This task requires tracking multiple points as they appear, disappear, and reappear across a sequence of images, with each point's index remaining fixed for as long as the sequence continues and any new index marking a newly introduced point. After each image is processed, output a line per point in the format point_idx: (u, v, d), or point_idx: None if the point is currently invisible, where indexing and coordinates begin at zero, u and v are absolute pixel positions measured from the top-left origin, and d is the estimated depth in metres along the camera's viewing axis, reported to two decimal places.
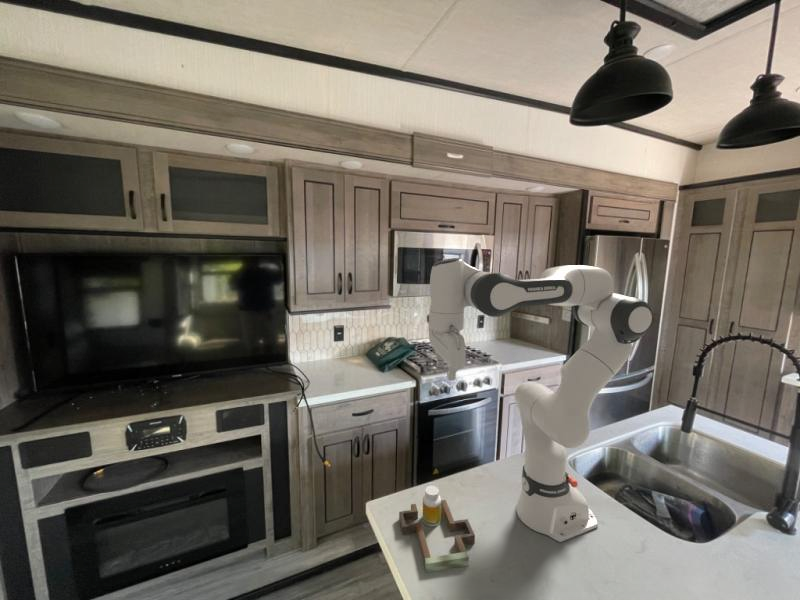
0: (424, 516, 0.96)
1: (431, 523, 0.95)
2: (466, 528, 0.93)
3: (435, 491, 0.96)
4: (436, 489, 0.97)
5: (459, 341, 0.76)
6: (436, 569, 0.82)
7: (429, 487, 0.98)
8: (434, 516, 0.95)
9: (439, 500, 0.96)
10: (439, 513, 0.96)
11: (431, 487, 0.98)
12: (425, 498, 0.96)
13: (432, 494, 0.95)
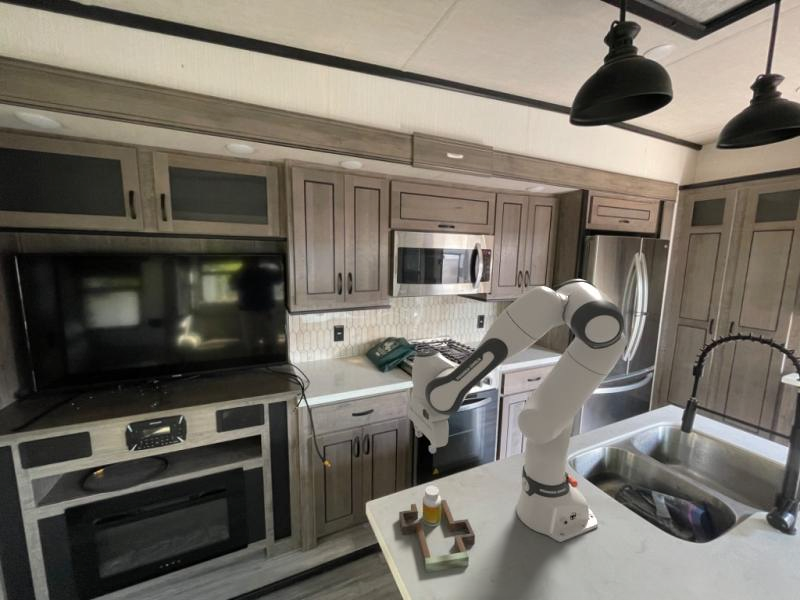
0: (424, 516, 0.96)
1: (431, 523, 0.95)
2: (466, 528, 0.93)
3: (435, 491, 0.96)
4: (436, 489, 0.97)
5: None
6: (436, 569, 0.82)
7: (429, 487, 0.98)
8: (434, 516, 0.95)
9: (439, 500, 0.96)
10: (439, 513, 0.96)
11: (431, 487, 0.98)
12: (425, 498, 0.96)
13: (432, 494, 0.95)
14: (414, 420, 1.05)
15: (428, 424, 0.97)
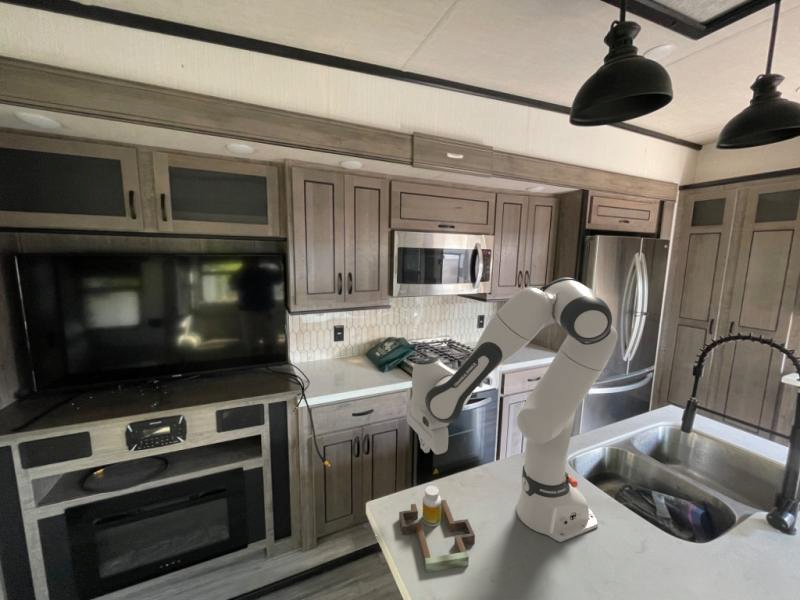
0: (424, 516, 0.96)
1: (431, 523, 0.95)
2: (466, 528, 0.93)
3: (435, 491, 0.96)
4: (436, 489, 0.97)
5: None
6: (436, 569, 0.82)
7: (429, 487, 0.98)
8: (434, 516, 0.95)
9: (439, 500, 0.96)
10: (439, 513, 0.96)
11: (431, 487, 0.98)
12: (425, 498, 0.96)
13: (432, 494, 0.95)
14: (414, 426, 1.05)
15: (428, 431, 0.97)
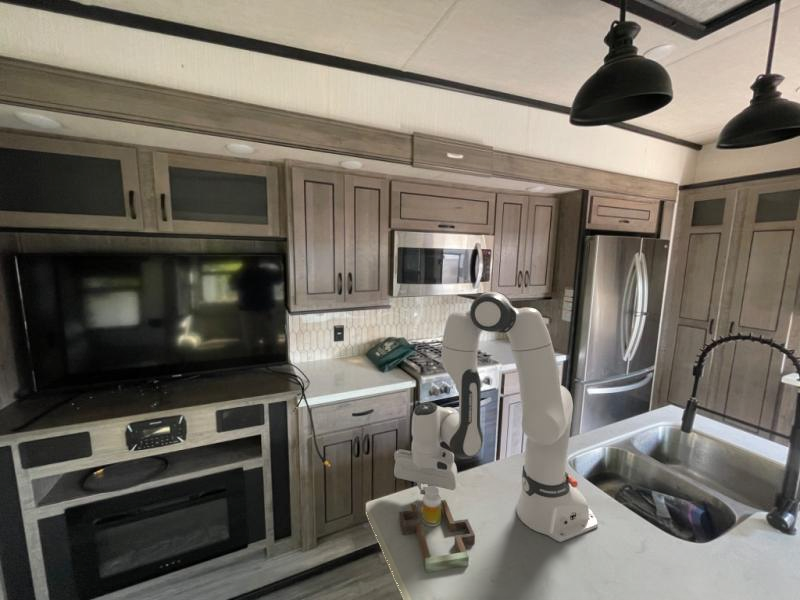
0: (424, 516, 0.96)
1: (431, 523, 0.95)
2: (466, 528, 0.93)
3: (435, 491, 0.96)
4: (436, 489, 0.97)
5: None
6: (436, 569, 0.82)
7: (429, 487, 0.98)
8: (434, 516, 0.95)
9: (439, 500, 0.96)
10: (439, 513, 0.96)
11: (431, 487, 0.98)
12: (425, 498, 0.96)
13: (432, 494, 0.95)
14: (411, 477, 1.04)
15: (438, 473, 1.01)
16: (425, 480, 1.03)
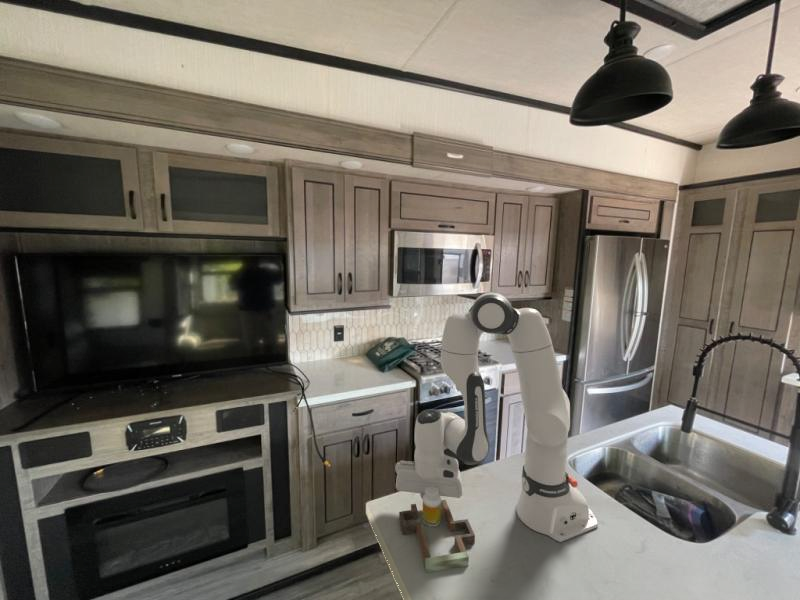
0: (424, 516, 0.96)
1: (431, 523, 0.95)
2: (466, 528, 0.93)
3: (435, 491, 0.96)
4: (436, 489, 0.97)
5: None
6: (436, 569, 0.82)
7: (429, 487, 0.98)
8: (434, 516, 0.95)
9: (439, 500, 0.96)
10: (439, 513, 0.96)
11: (431, 487, 0.98)
12: (425, 498, 0.96)
13: (432, 494, 0.95)
14: (414, 489, 1.00)
15: (443, 482, 0.98)
16: None
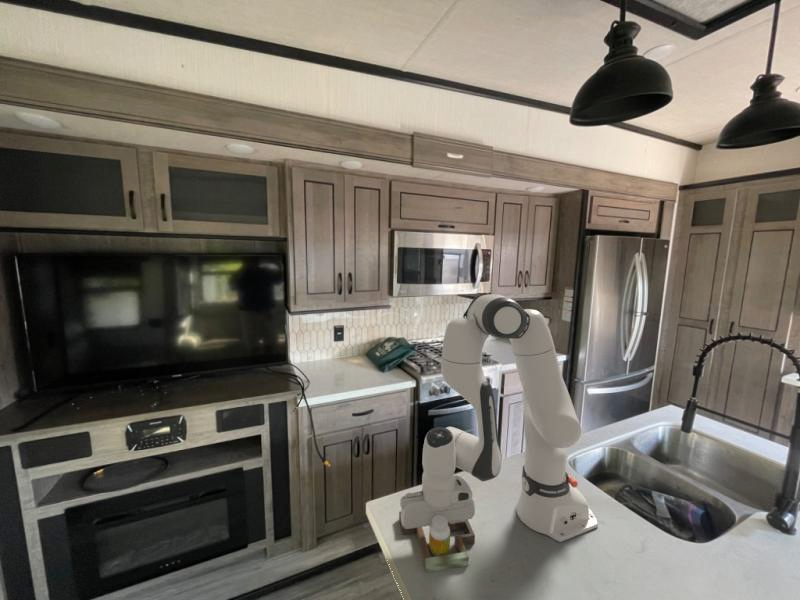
0: (429, 546, 0.86)
1: (435, 556, 0.85)
2: (466, 528, 0.93)
3: (442, 522, 0.85)
4: (445, 520, 0.85)
5: (400, 502, 0.87)
6: (436, 569, 0.82)
7: (438, 516, 0.87)
8: (439, 550, 0.84)
9: (446, 534, 0.84)
10: (446, 548, 0.85)
11: (440, 517, 0.87)
12: (431, 527, 0.86)
13: (438, 525, 0.84)
14: (424, 522, 0.87)
15: (455, 506, 0.89)
16: None
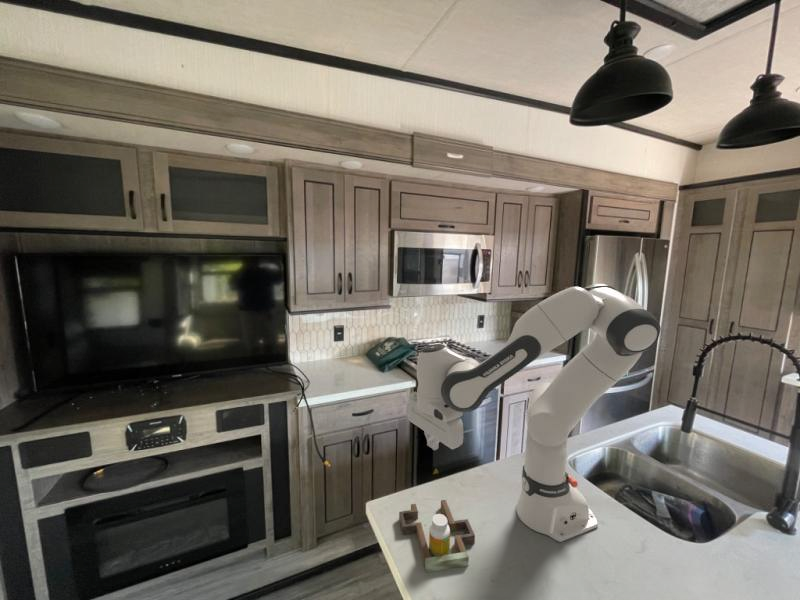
0: (429, 546, 0.87)
1: (435, 556, 0.85)
2: (466, 528, 0.93)
3: (442, 521, 0.85)
4: (445, 520, 0.86)
5: None
6: (436, 569, 0.82)
7: (438, 515, 0.87)
8: (439, 550, 0.84)
9: (446, 533, 0.85)
10: (446, 547, 0.85)
11: (440, 516, 0.87)
12: (431, 526, 0.86)
13: (438, 524, 0.84)
14: (418, 423, 0.96)
15: (439, 425, 0.88)
16: (429, 430, 0.92)
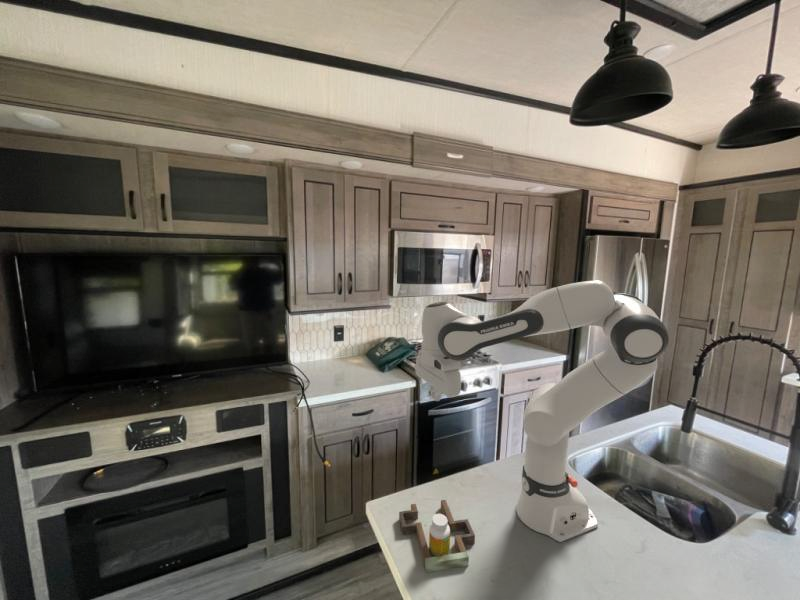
0: (429, 546, 0.87)
1: (435, 556, 0.85)
2: (466, 528, 0.93)
3: (442, 521, 0.85)
4: (445, 519, 0.86)
5: None
6: (436, 569, 0.82)
7: (438, 515, 0.87)
8: (439, 549, 0.84)
9: (446, 533, 0.85)
10: (446, 547, 0.85)
11: (440, 516, 0.87)
12: (431, 526, 0.86)
13: (438, 524, 0.85)
14: (423, 376, 1.03)
15: (439, 376, 0.95)
16: (431, 381, 0.99)
